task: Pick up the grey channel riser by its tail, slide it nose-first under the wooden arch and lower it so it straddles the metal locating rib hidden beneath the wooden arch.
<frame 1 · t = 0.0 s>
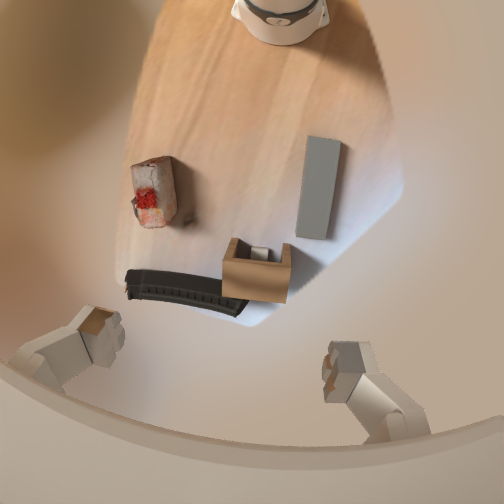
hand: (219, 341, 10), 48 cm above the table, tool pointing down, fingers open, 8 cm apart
food item: (162, 187, 58), on the table
wooden arch: (259, 257, 62), on the table
grey channel riser: (316, 186, 54), on the table
magazine: (190, 278, 67), on the table
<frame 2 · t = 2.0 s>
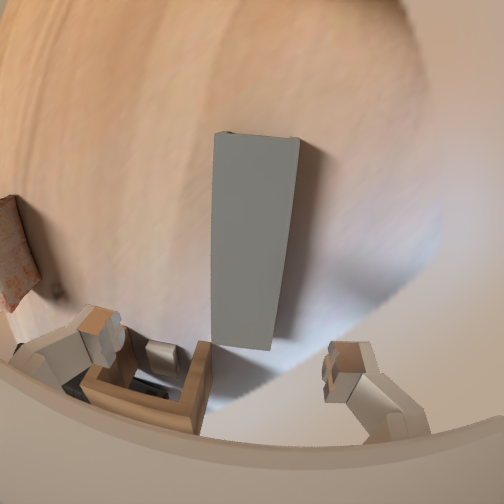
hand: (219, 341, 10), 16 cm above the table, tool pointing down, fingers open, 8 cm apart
food item: (19, 241, 29), on the table
wooden arch: (164, 355, 34), on the table
grey channel riser: (250, 246, 26), on the table
magazine: (87, 363, 39), on the table
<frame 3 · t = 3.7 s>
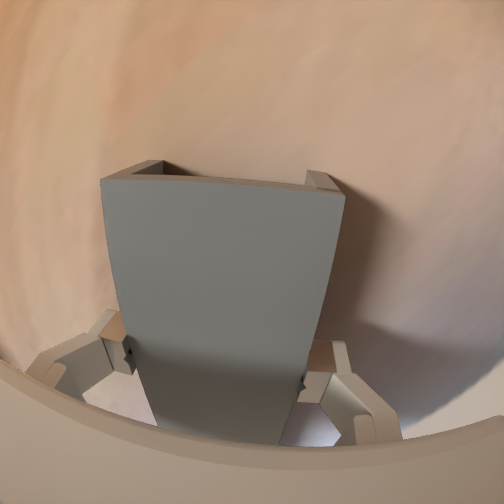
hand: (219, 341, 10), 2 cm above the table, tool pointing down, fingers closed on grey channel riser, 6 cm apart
grey channel riser: (225, 372, 13), on the table, touching gripper
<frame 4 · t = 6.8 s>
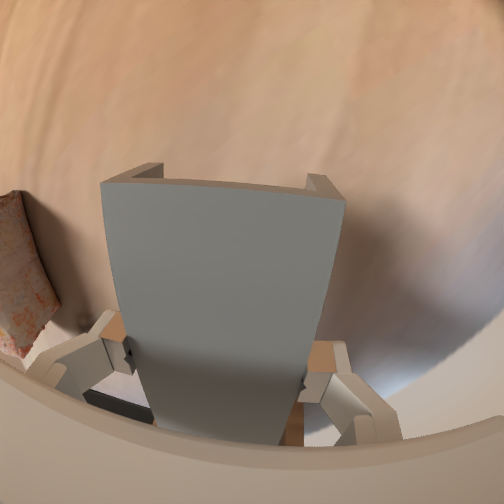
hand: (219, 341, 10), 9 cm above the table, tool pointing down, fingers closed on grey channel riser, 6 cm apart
food item: (27, 254, 22), on the table
wooden arch: (235, 398, 27), on the table
grey channel riser: (225, 374, 13), point 8 cm above the table, touching gripper
magazine: (124, 403, 32), on the table
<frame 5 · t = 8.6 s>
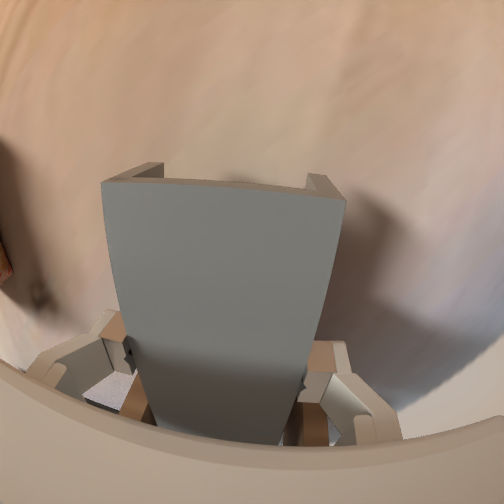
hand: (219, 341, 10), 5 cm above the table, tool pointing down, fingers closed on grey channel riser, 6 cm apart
wooden arch: (231, 402, 20), on the table
grey channel riser: (225, 373, 13), point 3 cm above the table, touching gripper
when the fingers open (2 cm above the table, at t = 10.2 s): grey channel riser stays where it is, on the table.
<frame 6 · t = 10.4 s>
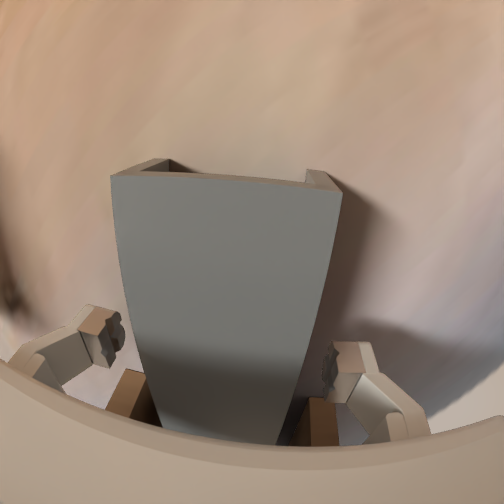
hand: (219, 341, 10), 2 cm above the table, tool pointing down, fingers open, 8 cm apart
wooden arch: (225, 421, 16), on the table
grey channel riser: (226, 366, 14), on the table
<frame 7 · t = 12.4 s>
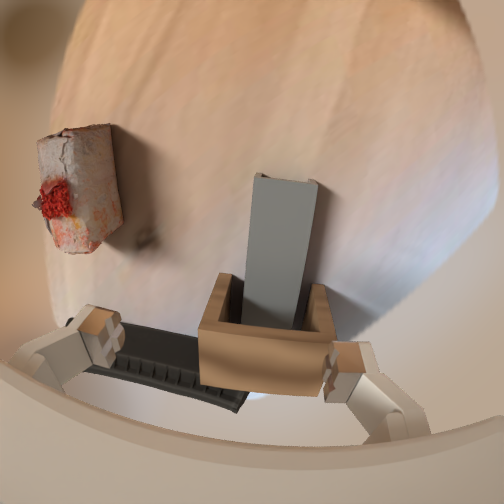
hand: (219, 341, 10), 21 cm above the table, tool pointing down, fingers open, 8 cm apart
food item: (99, 180, 30), on the table
wooden arch: (268, 306, 35), on the table
grey channel riser: (274, 263, 32), on the table
magazine: (161, 335, 39), on the table
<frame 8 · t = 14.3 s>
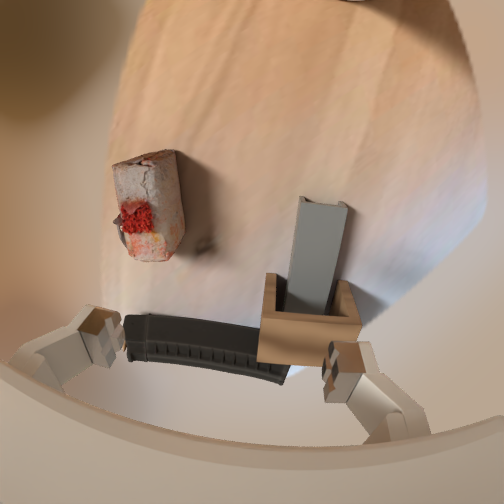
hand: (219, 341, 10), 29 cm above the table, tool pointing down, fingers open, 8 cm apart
food item: (161, 196, 39), on the table
wooden arch: (303, 298, 44), on the table
grey channel riser: (310, 264, 41), on the table
magazine: (212, 326, 48), on the table
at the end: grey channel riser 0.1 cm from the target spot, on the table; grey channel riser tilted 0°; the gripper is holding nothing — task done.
